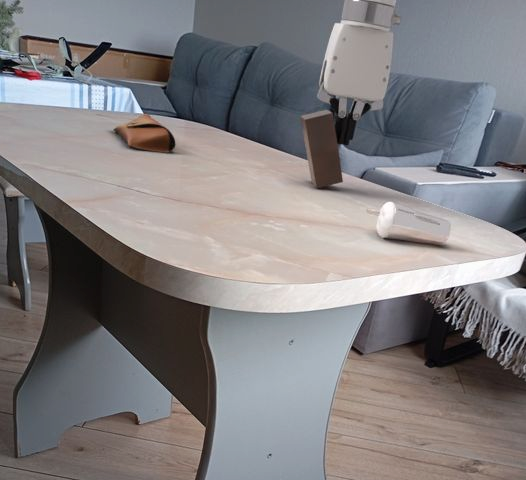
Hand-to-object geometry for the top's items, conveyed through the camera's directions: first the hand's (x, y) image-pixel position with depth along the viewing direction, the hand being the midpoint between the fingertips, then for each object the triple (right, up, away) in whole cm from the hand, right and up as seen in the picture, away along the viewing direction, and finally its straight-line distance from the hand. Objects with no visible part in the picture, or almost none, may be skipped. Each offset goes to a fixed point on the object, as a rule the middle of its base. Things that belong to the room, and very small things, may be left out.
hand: (341, 143), depth 101 cm
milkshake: (+11, -18, -20) cm, 30 cm away
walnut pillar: (-2, -6, +3) cm, 7 cm away
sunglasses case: (-36, +5, +15) cm, 39 cm away
